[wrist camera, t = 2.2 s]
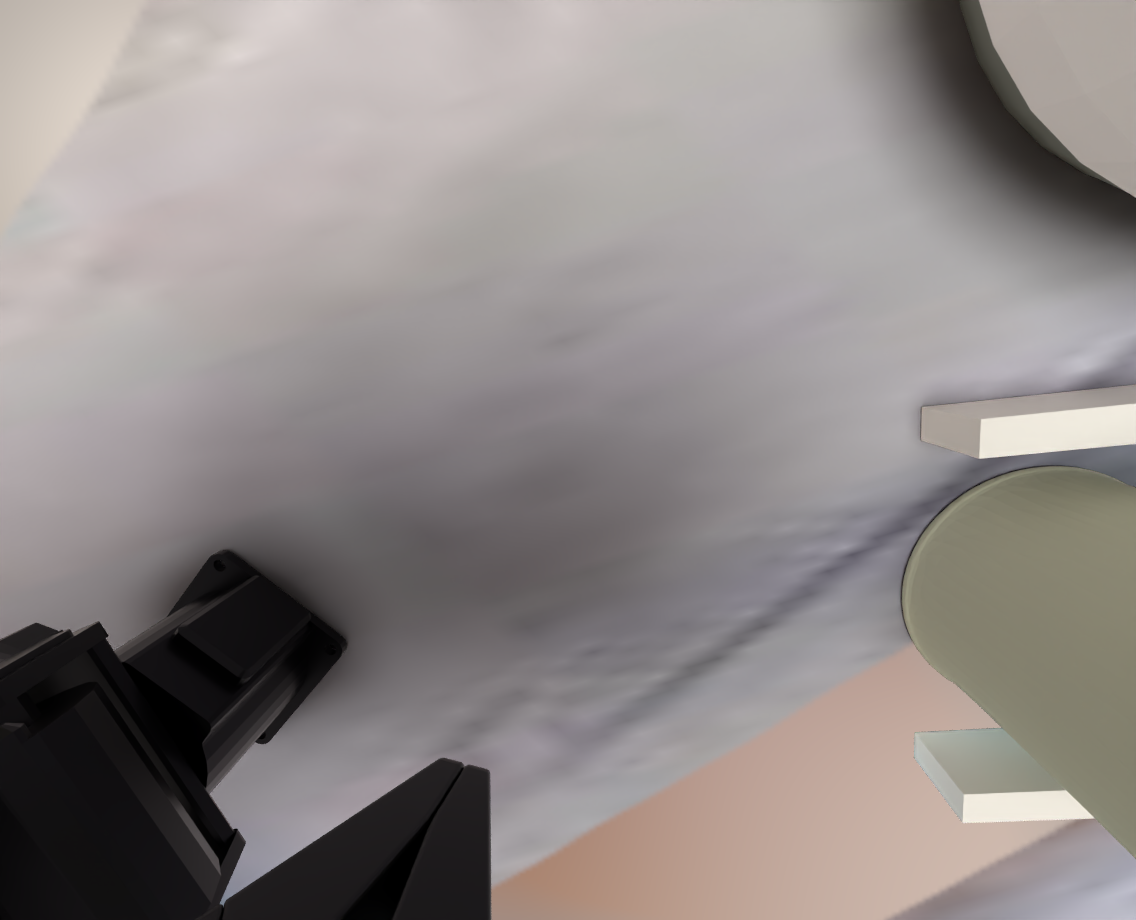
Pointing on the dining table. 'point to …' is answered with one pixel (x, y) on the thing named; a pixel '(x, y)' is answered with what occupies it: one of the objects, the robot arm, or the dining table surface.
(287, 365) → the dining table surface
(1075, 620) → the can
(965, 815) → the white angular bar frame
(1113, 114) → the bowl
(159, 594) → the dining table surface
